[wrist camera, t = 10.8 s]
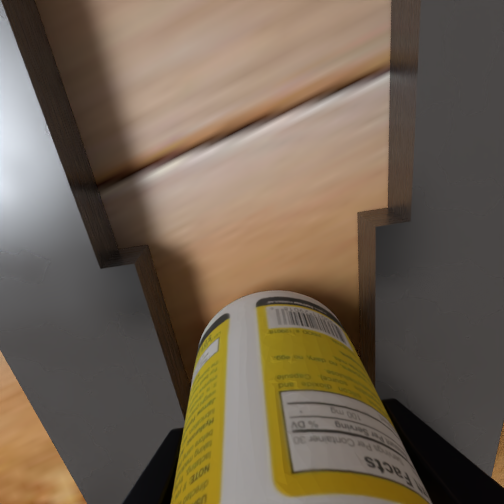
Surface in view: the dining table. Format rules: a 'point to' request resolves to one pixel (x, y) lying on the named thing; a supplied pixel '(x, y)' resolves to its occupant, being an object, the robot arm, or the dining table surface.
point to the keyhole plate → (369, 255)
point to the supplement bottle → (287, 414)
